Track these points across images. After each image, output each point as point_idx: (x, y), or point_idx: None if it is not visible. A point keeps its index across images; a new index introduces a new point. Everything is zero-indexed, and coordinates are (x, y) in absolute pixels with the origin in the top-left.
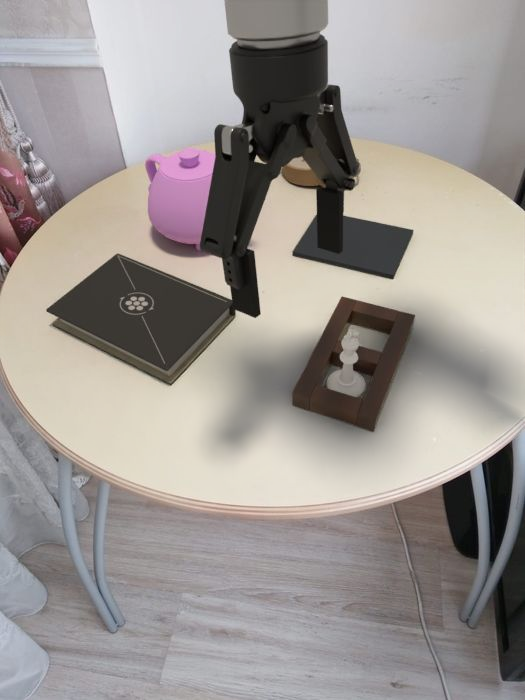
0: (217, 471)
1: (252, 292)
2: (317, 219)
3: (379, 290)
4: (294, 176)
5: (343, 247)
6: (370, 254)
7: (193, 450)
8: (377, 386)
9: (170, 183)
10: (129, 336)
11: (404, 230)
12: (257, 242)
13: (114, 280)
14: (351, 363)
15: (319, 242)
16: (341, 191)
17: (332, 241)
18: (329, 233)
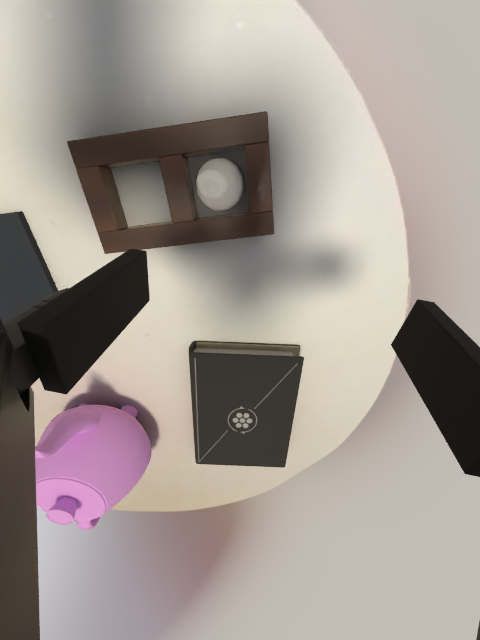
0: (374, 257)
1: (469, 338)
2: (117, 334)
3: (53, 219)
4: None
5: (24, 293)
6: (7, 257)
7: (359, 289)
8: (216, 135)
9: (110, 497)
10: (281, 404)
11: None
12: (88, 375)
13: (227, 448)
14: (223, 175)
15: (143, 301)
16: (12, 330)
17: (135, 276)
18: (127, 291)
